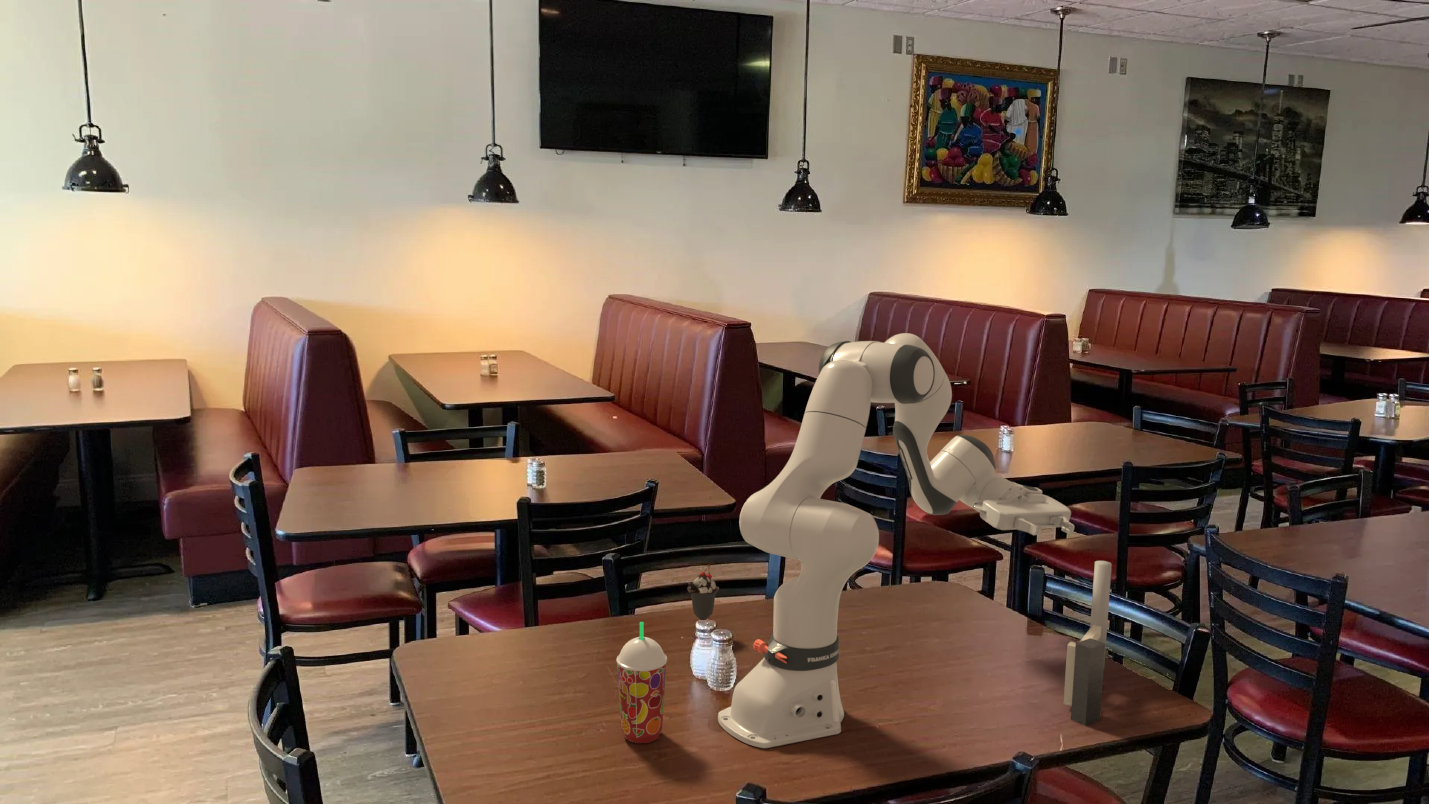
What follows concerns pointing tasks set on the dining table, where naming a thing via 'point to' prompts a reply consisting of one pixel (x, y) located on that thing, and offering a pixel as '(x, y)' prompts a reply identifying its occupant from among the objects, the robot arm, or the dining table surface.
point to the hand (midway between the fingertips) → (1055, 530)
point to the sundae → (703, 595)
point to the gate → (1097, 621)
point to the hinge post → (1087, 681)
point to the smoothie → (641, 688)
